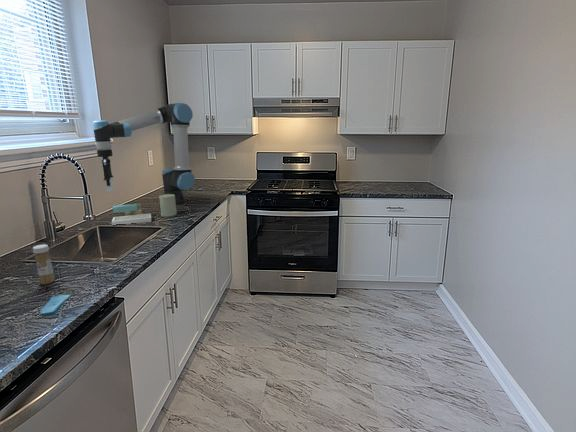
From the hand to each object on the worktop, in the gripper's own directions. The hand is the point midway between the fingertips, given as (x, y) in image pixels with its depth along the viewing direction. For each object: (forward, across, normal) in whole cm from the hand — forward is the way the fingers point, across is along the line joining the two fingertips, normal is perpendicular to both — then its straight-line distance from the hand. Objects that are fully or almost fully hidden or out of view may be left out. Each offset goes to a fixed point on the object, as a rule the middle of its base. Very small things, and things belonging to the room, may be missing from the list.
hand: (110, 190), depth 210 cm
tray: (+17, +10, +10) cm, 22 cm away
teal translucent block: (+17, 0, +10) cm, 20 cm away
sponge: (+18, +106, -9) cm, 108 cm away
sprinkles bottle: (+17, +85, -15) cm, 88 cm away
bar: (+13, 0, +6) cm, 14 cm away
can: (+17, +2, +30) cm, 35 cm away
